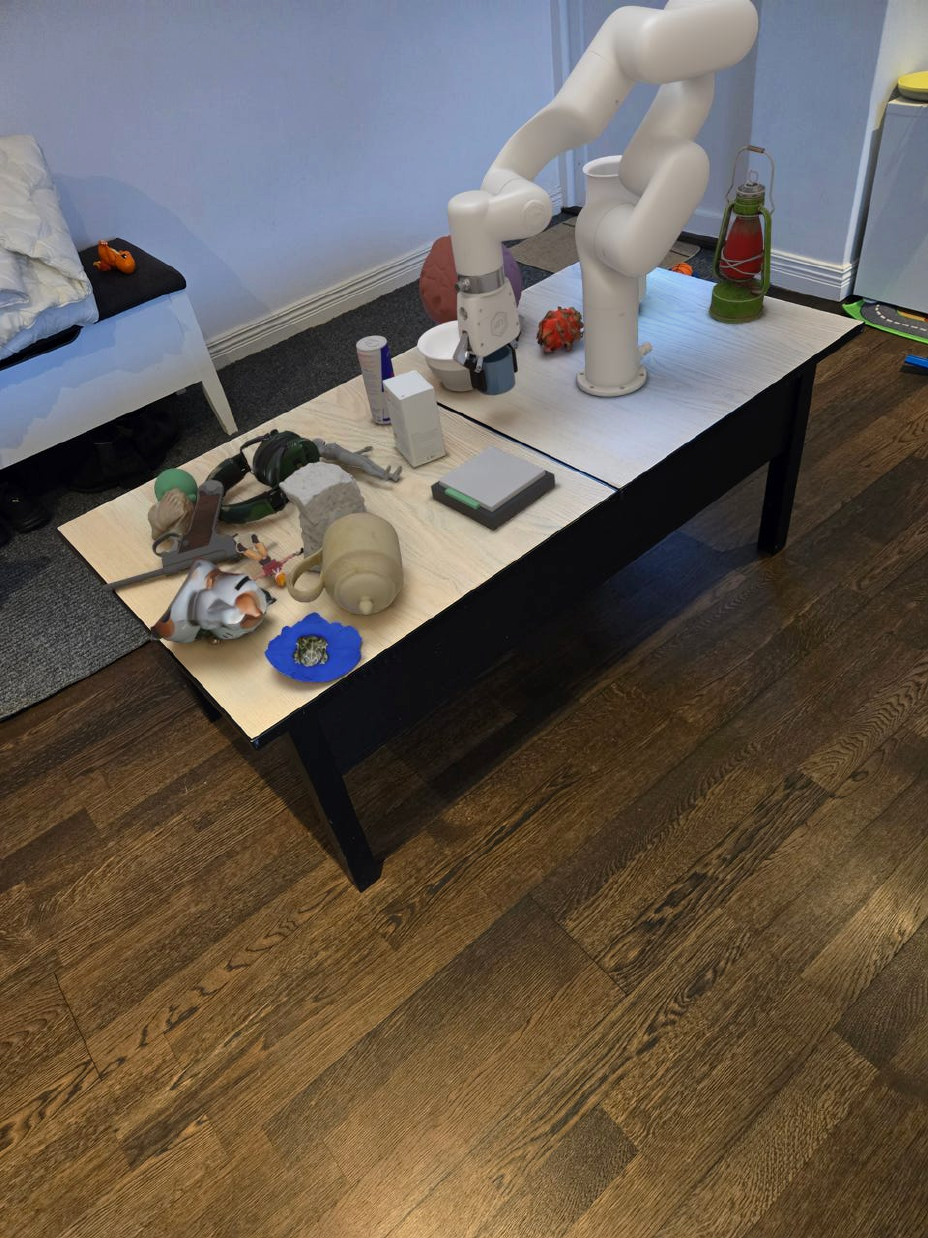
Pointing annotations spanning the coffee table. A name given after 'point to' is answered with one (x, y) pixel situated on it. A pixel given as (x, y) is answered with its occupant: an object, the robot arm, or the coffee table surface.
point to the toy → (315, 649)
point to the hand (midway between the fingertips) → (495, 379)
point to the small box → (414, 417)
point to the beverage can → (376, 374)
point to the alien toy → (176, 484)
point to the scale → (493, 487)
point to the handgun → (192, 540)
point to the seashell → (171, 514)
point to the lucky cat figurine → (212, 606)
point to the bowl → (445, 356)
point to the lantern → (743, 253)
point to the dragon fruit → (560, 329)
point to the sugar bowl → (355, 565)
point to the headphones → (263, 474)
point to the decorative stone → (321, 501)
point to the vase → (609, 191)
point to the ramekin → (498, 371)
